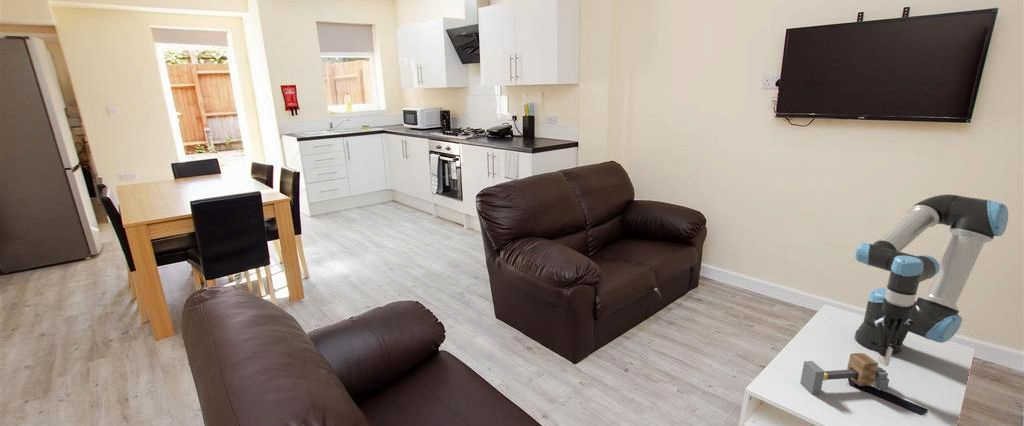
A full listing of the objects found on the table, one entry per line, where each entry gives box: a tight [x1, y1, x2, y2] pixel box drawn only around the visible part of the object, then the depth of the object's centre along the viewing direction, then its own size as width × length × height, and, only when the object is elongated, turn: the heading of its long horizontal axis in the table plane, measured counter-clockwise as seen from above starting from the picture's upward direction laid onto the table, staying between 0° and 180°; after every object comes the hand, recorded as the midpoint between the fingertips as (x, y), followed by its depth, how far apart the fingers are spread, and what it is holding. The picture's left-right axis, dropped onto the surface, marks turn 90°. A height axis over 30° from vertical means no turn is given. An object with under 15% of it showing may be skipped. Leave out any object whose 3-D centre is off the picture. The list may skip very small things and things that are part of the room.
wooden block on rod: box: [846, 352, 879, 387], centre depth 159 cm, size 5×6×9 cm
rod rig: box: [799, 360, 890, 395], centre depth 159 cm, size 27×6×9 cm, turn 93°
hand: (883, 363), depth 158 cm, fingers closed
